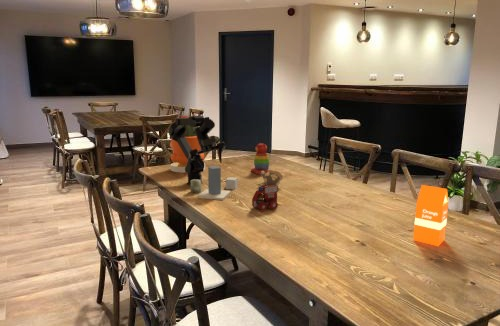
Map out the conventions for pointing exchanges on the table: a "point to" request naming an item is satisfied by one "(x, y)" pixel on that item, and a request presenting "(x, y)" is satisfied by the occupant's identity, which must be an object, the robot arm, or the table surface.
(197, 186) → the sage cylinder
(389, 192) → the table surface
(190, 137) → the potted cactus
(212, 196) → the plate
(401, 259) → the table surface
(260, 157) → the stacking bear
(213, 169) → the tall block
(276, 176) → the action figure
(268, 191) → the toy fire truck
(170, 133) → the robot arm
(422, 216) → the orange juice
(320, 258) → the table surface
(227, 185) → the white cube
